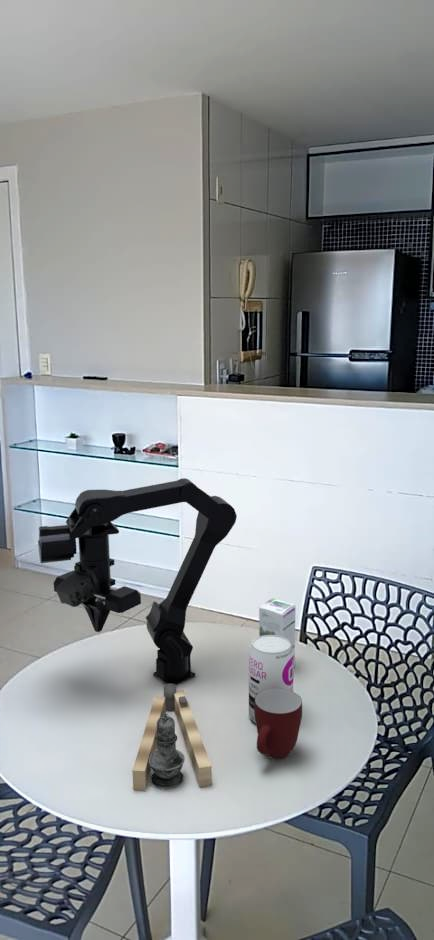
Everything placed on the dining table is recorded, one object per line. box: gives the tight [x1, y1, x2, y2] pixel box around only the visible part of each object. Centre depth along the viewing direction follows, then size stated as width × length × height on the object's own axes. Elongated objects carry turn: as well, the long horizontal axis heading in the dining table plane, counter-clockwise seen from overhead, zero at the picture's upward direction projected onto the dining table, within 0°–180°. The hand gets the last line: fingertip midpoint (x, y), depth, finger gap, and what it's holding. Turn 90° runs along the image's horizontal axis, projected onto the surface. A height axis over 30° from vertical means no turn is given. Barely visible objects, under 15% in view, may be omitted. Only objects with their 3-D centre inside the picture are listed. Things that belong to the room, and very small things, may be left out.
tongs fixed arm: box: [163, 683, 213, 788], centre depth 129 cm, size 25×4×4 cm, turn 13°
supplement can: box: [248, 635, 295, 724], centre depth 135 cm, size 8×8×15 cm
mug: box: [254, 688, 303, 760], centre depth 124 cm, size 10×8×10 cm
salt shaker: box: [149, 711, 186, 790], centre depth 118 cm, size 6×6×12 cm
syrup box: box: [258, 598, 297, 667], centre depth 153 cm, size 6×6×14 cm
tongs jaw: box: [131, 696, 167, 791], centre depth 127 cm, size 22×2×4 cm, turn 175°
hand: (98, 631), depth 144 cm, fingers closed
